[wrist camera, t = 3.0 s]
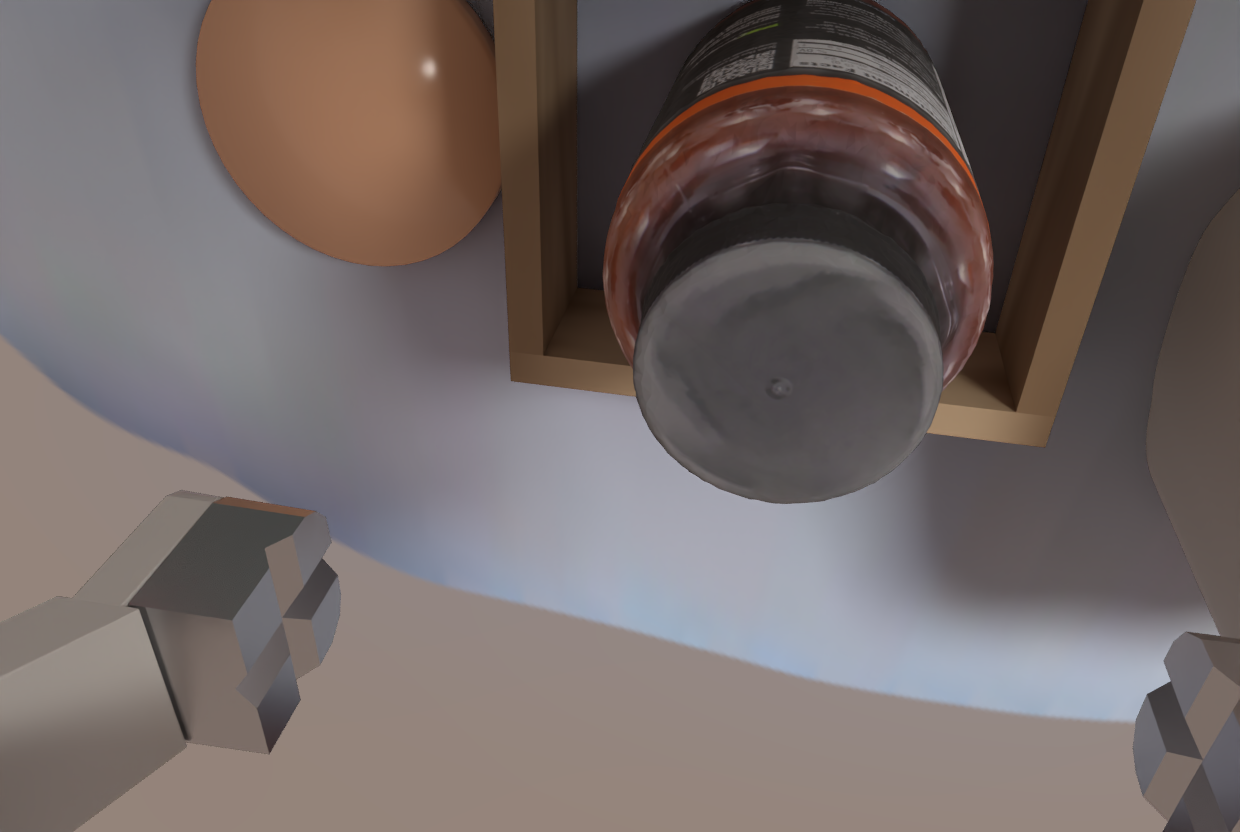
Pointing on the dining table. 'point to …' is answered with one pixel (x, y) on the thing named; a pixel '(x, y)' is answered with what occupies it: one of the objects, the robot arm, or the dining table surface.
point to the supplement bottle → (799, 253)
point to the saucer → (355, 120)
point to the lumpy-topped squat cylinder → (1204, 418)
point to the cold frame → (1043, 271)
